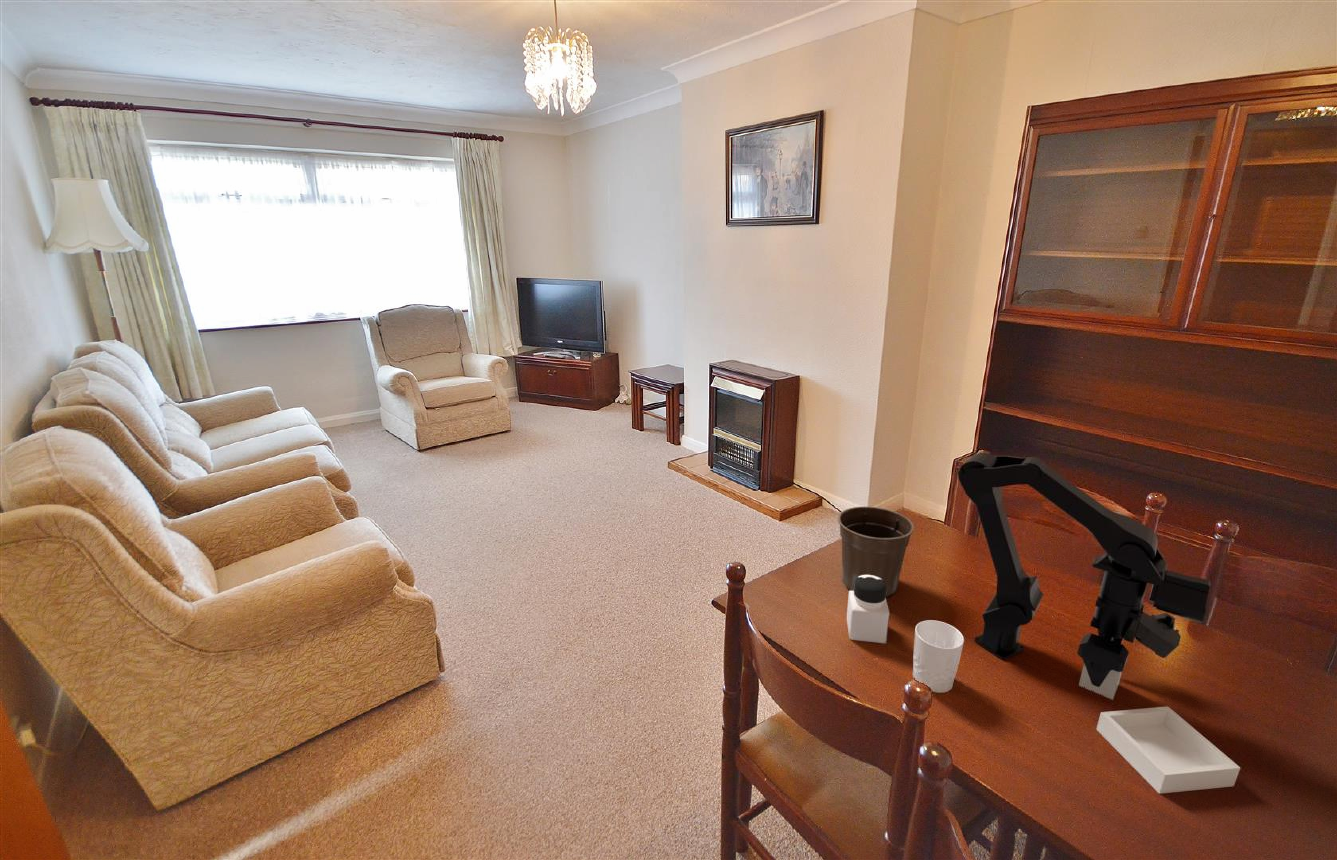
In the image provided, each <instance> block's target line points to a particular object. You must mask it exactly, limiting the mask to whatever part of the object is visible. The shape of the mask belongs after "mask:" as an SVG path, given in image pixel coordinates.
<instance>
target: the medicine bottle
mask: <svg viewBox="0 0 1337 860" xmlns="http://www.w3.org/2000/svg"><path fill="white" fill-rule="evenodd" d="M886 588H887V585H886V583H885V582H884V581H883V580H882V579H881V578H879V577H877V576H873V575H861V576H859V577H857V578H856V579H855V585H854V591H851V590H849V591H848V596H847V597H848V598H847V599H848V600H847V609H846V624H847V630H848V638H849V640H851V641H858V642H859V641H861V642H869V643H870V642H871V643H877V644H887V641H888V634H889V633H888V632H889V624H890V615H891V614H890V611H889V606H888V602H887V596H886Z"/></svg>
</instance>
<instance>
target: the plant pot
mask: <svg viewBox="0 0 1337 860" xmlns="http://www.w3.org/2000/svg"><path fill="white" fill-rule="evenodd" d="M837 521H838V524H839V528H840V529H839V532H840V533H839V534H840V538H841V579H842V581H843V583H844V587H846V588H847V589H848V590H849V591H854V585H855V579H856V578H857V577H859V576H861V575H873V576H877V577H879V578H881V579H882V580H883V581H884V582H885V583H886V585H887V588H886V597H889V596H891V595H893V594H895V592H896V591H897V589H898V584H899V580H900V575H901V571H902V567H903V563H904V558H905V555H906V550H907V547H908V546H909V543H910V539H911V535H912V534H913V533H914V531H915V525H914V523H913V522H912V520H911V519H909V518H908V517H907V516H905V515H903V514H901V513H900V512H897V511H895V510H892V509H888V508H882V507H877V506H876V507H875V506H855V507H850V508H846V509H845V510H843V511H841V512H840V513H839V514H838V517H837Z"/></svg>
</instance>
